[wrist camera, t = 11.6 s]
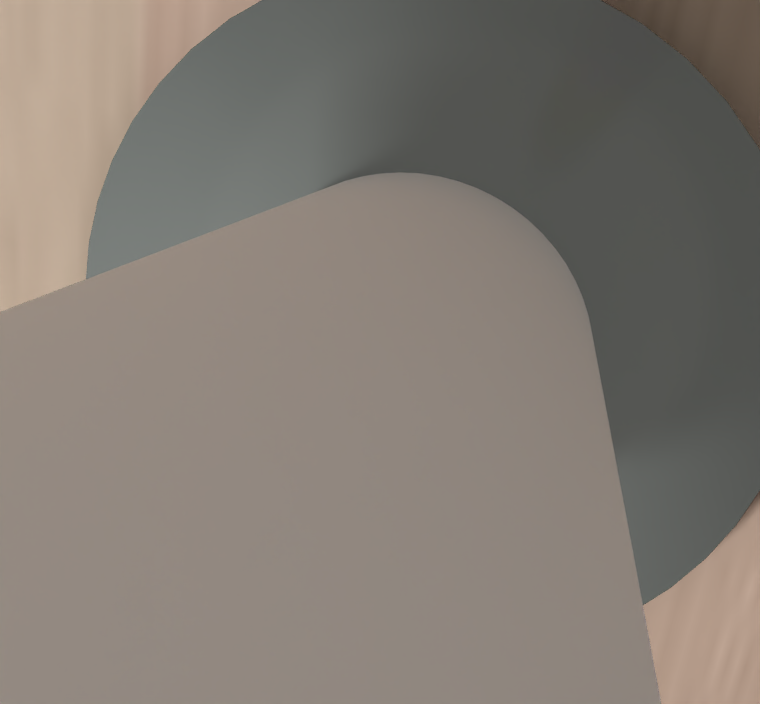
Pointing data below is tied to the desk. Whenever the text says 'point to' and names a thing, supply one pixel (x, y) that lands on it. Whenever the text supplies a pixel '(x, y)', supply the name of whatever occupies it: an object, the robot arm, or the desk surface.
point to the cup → (318, 469)
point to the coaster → (503, 199)
